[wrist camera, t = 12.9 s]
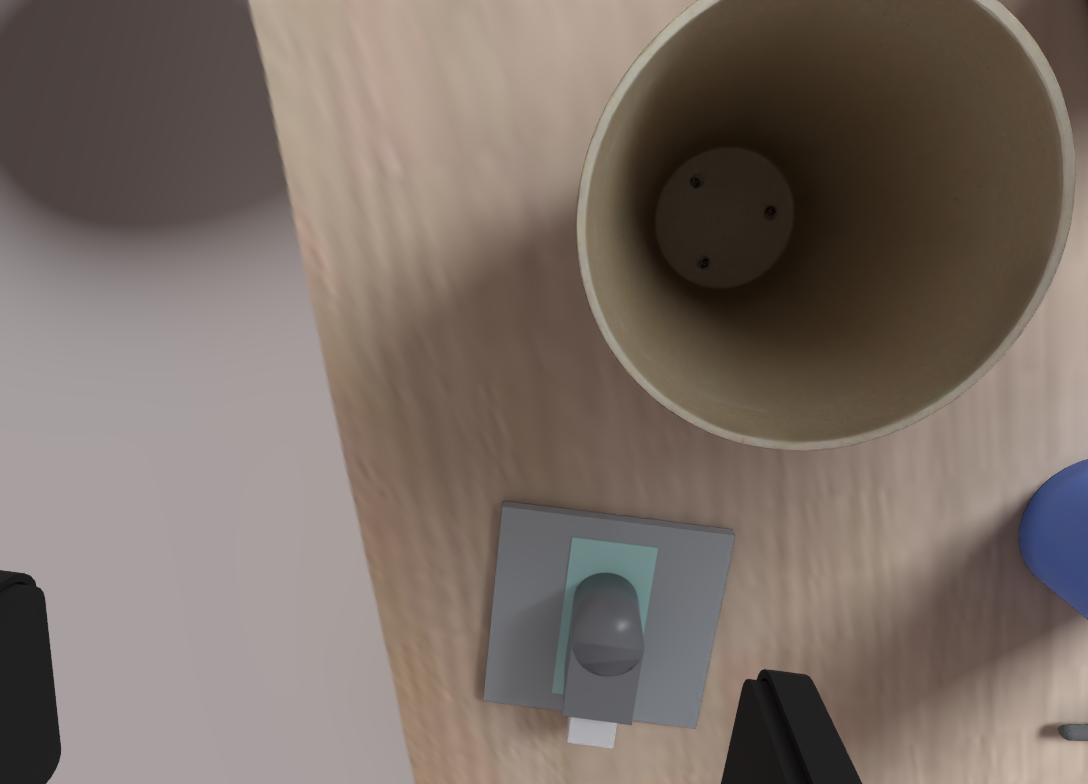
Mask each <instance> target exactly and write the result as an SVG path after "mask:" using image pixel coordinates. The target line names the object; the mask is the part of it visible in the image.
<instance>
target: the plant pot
mask: <svg viewBox="0 0 1088 784" xmlns="http://www.w3.org/2000/svg"><path fill="white" fill-rule="evenodd" d="M1075 177H1076V168H1075V149H1074V141H1073V134H1072V127H1071V123H1070V119H1069V116H1068V112H1067V108H1066V104H1065V101H1064V98H1063V95H1062V92H1061V89H1060V86H1059V84H1058V81H1057V79H1056V77H1055V74H1054V72H1053V70H1052V68H1051V66H1050V65H1049V63H1048V61H1047V59H1046V57H1045V56H1044V54H1043V52H1042V51H1041V49H1040V48H1039V46H1038V44H1037V43H1036V41H1035V40H1034V39H1033V37H1032V36H1031V35H1030V34H1029V32H1028V31H1027V30H1026V29H1025V27H1024V26H1023V25H1022V24H1021V23H1020V22H1019V21H1018V19H1017V18H1016V17H1015V16H1014V15H1013V14H1012V13H1011V12H1010V11H1009V10H1008V9H1007V8H1006V7H1005V6H1004V5H1002V4H1001V3H1000V2H999V1H997V0H698V1H696V2H695V3H693V4H692V5H691V6H689V7H688V8H686V9H685V10H684V11H683V12H682V13H681V14H680V15H678V16H677V17H676V18H675V19H674V20H673V21H672V22H671V23H669V24H668V25H667V26H666V27H665V28H664V29H663V30H662V31H661V32H660V33H659V34H658V35H657V36H656V37H655V38H654V39H653V40H652V42H651V43H650V44H649V45H648V46H647V47H646V48H645V49H644V50H643V51H642V53H641V54H640V55H639V56H638V57H637V59H636V60H635V61H634V63H633V64H632V65H631V67H630V68H629V69H628V71H627V72H626V73H625V75H624V76H623V78H622V79H621V81H620V83H619V84H618V86H617V87H616V89H615V91H614V92H613V94H612V96H611V97H610V99H609V101H608V103H607V105H606V107H605V109H604V111H603V113H602V115H601V117H600V119H599V122H598V124H597V126H596V129H595V131H594V134H593V136H592V139H591V142H590V145H589V148H588V151H587V155H586V158H585V162H584V165H583V170H582V175H581V180H580V185H579V191H578V200H577V213H576V243H577V255H578V262H579V268H580V273H581V279H582V283H583V286H584V290H585V293H586V297H587V300H588V303H589V306H590V310H591V312H592V314H593V317H594V319H595V321H596V324H597V326H598V328H599V330H600V332H601V334H602V336H603V338H604V339H605V341H606V343H607V344H608V346H609V348H610V349H611V351H612V352H613V354H614V355H615V357H616V358H617V360H618V361H619V363H620V364H621V365H622V366H623V368H624V369H625V370H626V371H627V373H628V374H629V375H630V376H631V377H632V378H633V379H634V380H635V381H636V382H637V383H638V384H639V385H640V387H641V388H642V389H644V390H645V391H646V392H647V393H648V394H649V395H650V396H651V397H652V398H654V399H655V400H656V401H658V402H659V403H660V404H662V405H663V406H664V407H665V408H667V409H668V410H670V411H671V412H673V413H674V414H675V415H677V416H678V417H680V418H682V419H684V420H686V421H687V422H689V423H691V424H693V425H695V426H697V427H698V428H701V429H703V430H705V431H707V432H709V433H712V434H714V435H717V436H719V437H722V438H725V439H728V440H731V441H735V442H738V443H741V444H746V445H751V446H757V447H762V448H770V449H779V450H821V449H831V448H839V447H845V446H851V445H855V444H858V443H862V442H866V441H869V440H873V439H876V438H879V437H883V436H885V435H888V434H890V433H893V432H895V431H898V430H900V429H903V428H905V427H907V426H909V425H911V424H913V423H915V422H918V421H920V420H922V419H924V418H925V417H927V416H929V415H930V414H932V413H934V412H936V411H937V410H939V409H941V408H942V407H944V406H946V405H947V404H949V403H950V402H952V401H953V400H955V399H956V398H958V397H959V396H960V395H961V394H963V393H964V392H965V391H967V390H968V389H969V388H970V387H971V386H973V385H974V384H975V383H976V382H977V381H978V380H979V379H980V378H981V377H982V376H983V375H984V374H985V373H987V372H988V371H989V370H990V369H991V368H992V367H993V366H994V365H995V364H996V363H997V362H998V361H999V360H1000V359H1001V358H1002V356H1003V355H1004V354H1005V353H1006V352H1007V350H1008V349H1009V348H1010V347H1011V346H1012V344H1013V343H1014V342H1015V341H1016V340H1017V338H1018V337H1019V336H1020V335H1021V333H1022V332H1023V330H1024V329H1025V327H1026V326H1027V324H1028V323H1029V321H1030V320H1031V318H1032V317H1033V315H1034V313H1035V312H1036V310H1037V308H1038V307H1039V305H1040V304H1041V302H1042V300H1043V298H1044V296H1045V294H1046V292H1047V290H1048V288H1049V286H1050V284H1051V282H1052V280H1053V277H1054V275H1055V273H1056V270H1057V268H1058V266H1059V263H1060V260H1061V257H1062V254H1063V251H1064V248H1065V245H1066V241H1067V237H1068V233H1069V230H1070V225H1071V218H1072V211H1073V204H1074V192H1075ZM692 178H698V179H699V181H700V185H699V186H698V187H696V188H695V187H693V186H692V184H691V179H692ZM768 207H774V208H775V209H776V212H775V214H773V215H768V214H767V213H766V212H765V210H766V209H767V208H768ZM705 259H708V261H709V262H708V265H707V267H705V268H702V267H701V262H702V261H703V260H705Z"/></svg>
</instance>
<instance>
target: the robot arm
mask: <svg viewBox="0 0 1088 784" xmlns="http://www.w3.org/2000/svg"><path fill="white" fill-rule="evenodd" d="M60 755H61V743H60V735H59V725H58V715H57V707H56V696H55V688H54V678H53V669H52V659H51V650H50V642H49V632H48V622H47V613H46V603H45V597H44V593H43V591H42V590H41V589H40V588H38V587H37V586H36V583H35V580H34V579H33V578H32V577H31V576H30V575H27V574H25V573H17V572H10V571H2V570H0V784H46V783H47V782H48V780H49V779H50V778H51V777H52V775H53V773H54V771H55V770H56V768H57V765H58V763H59V759H60ZM721 784H862V782H861V780H860V778H859V776H858V774H857V772H856V770H855V768H854V766H853V763H852V761H851V759H850V757H849V755H848V753H847V751H846V749H845V747H844V745H843V743H842V741H841V739H840V737H839V734H838V732H837V730H836V728H835V726H834V724H833V722H832V720H831V718H830V716H829V714H828V712H827V710H826V708H825V706H824V703H823V701H822V699H821V697H820V695H819V693H818V691H817V689H816V687H815V685H814V683H813V681H812V680H811V678H810V677H809V676H807V675H805V674H798V673H790V672H782V671H775V670H767V669H764V670H761V672H760V673H759V675H758V678H757V680H752V679H747V680H745V682H744V684H743V687H742V691H741V696H740V700H739V705H738V709H737V714H736V718H735V723H734V727H733V732H732V736H731V741H730V745H729V750H728V754H727V759H726V763H725V768H724V772H723V777H722V781H721Z"/></svg>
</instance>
